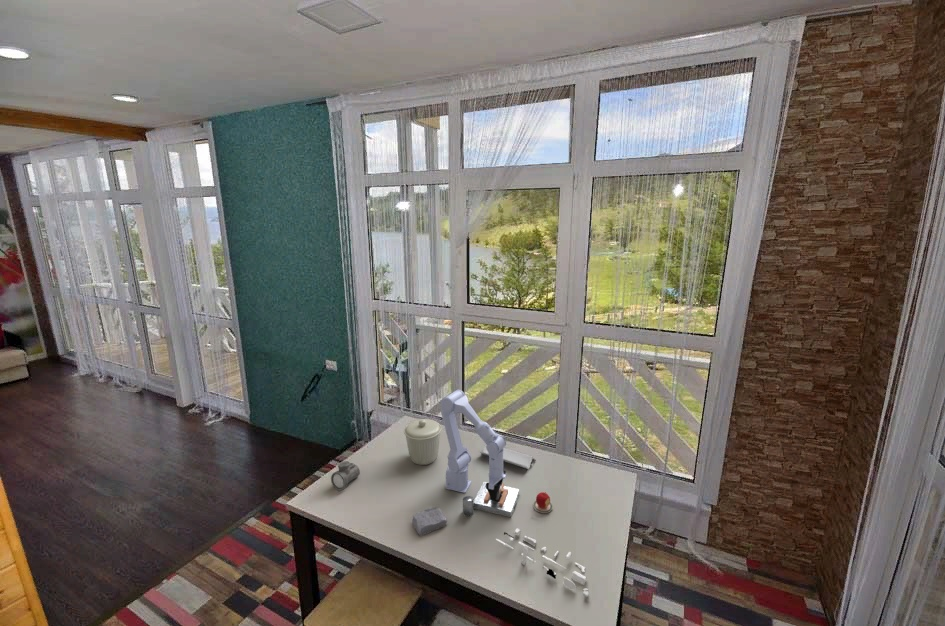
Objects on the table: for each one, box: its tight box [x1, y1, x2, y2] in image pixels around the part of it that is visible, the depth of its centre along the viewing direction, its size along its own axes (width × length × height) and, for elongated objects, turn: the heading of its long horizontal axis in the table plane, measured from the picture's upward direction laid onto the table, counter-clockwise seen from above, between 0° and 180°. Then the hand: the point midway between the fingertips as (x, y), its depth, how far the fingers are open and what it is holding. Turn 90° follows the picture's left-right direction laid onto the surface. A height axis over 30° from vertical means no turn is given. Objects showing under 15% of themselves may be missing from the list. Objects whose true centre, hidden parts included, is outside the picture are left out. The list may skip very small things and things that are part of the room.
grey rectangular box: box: [491, 483, 501, 502], centre depth 169 cm, size 3×3×8 cm
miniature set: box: [495, 526, 590, 598], centre depth 142 cm, size 6×35×12 cm
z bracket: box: [477, 443, 536, 470], centre depth 199 cm, size 12×25×6 cm
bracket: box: [484, 482, 508, 506], centre depth 171 cm, size 8×12×1 cm, turn 161°
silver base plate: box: [474, 481, 520, 518], centre depth 171 cm, size 16×14×2 cm
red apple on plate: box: [532, 491, 554, 514], centre depth 167 cm, size 8×8×6 cm
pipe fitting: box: [330, 460, 361, 491], centre depth 183 cm, size 12×8×10 cm
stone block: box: [412, 506, 448, 536], centre depth 160 cm, size 12×5×10 cm
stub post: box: [462, 495, 475, 517], centre depth 164 cm, size 4×4×6 cm
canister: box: [403, 418, 442, 466], centre depth 198 cm, size 18×18×21 cm
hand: (495, 493), depth 169 cm, fingers open, 7 cm apart
